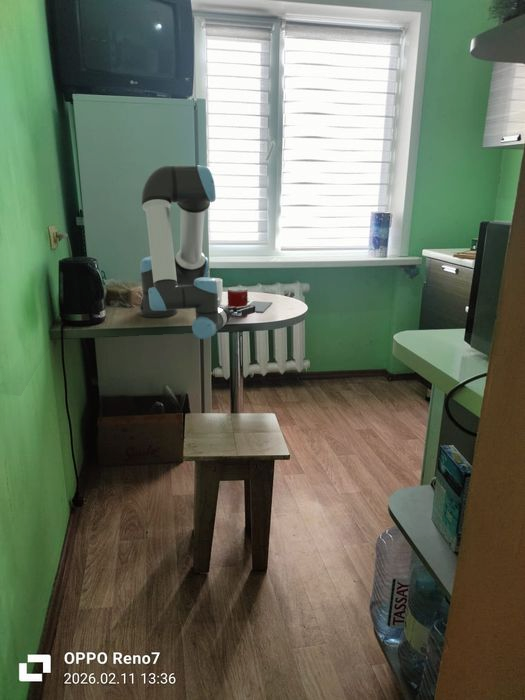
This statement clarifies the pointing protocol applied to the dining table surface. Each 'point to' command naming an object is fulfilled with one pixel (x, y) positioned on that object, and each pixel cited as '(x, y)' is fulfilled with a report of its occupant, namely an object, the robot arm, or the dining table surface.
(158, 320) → the dining table surface
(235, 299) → the canned food
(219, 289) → the white cup
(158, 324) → the dining table surface
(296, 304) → the dining table surface
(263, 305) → the slate mat
